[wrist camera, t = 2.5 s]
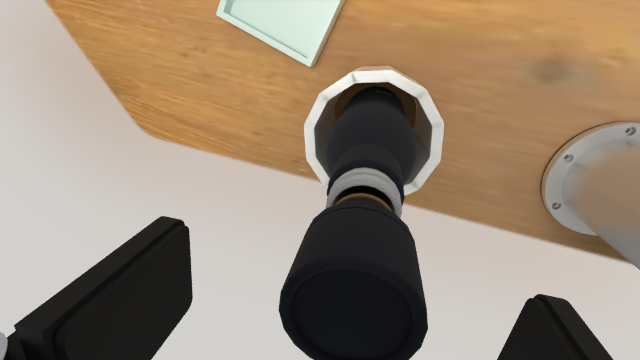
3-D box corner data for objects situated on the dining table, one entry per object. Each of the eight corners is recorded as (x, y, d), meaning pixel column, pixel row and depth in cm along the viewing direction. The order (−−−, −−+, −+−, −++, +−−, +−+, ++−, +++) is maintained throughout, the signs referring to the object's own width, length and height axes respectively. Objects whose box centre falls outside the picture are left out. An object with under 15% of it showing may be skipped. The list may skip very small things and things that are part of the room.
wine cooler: (443, 95, 33) (473, 115, 22) (389, 175, 38) (393, 225, 27) (356, 47, 33) (344, 43, 22) (312, 132, 37) (284, 165, 26)
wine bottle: (355, 149, 37) (281, 411, 10) (338, 96, 35) (191, 239, 8) (409, 134, 35) (505, 403, 8) (395, 77, 33) (459, 179, 6)
